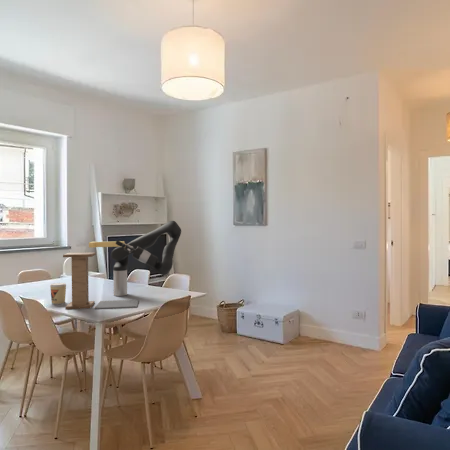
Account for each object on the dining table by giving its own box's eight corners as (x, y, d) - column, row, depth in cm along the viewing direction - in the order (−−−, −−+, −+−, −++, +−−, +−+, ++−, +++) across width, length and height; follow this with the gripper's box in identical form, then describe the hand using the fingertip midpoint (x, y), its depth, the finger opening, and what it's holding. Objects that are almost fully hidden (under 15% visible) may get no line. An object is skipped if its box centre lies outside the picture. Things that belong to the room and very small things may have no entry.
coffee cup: (47, 303, 246) (47, 284, 246) (60, 300, 254) (60, 282, 254) (56, 305, 241) (55, 285, 241) (69, 302, 249) (69, 283, 249)
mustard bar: (91, 246, 243) (91, 241, 243) (125, 245, 246) (125, 241, 246) (88, 247, 233) (88, 242, 233) (123, 246, 236) (123, 241, 236)
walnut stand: (69, 304, 243) (68, 252, 242) (96, 303, 245) (95, 252, 245) (63, 309, 229) (63, 254, 229) (92, 308, 231) (91, 254, 231)
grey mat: (100, 302, 249) (100, 300, 249) (138, 300, 252) (138, 299, 252) (94, 309, 229) (94, 307, 229) (136, 307, 232) (136, 306, 232)
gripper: (145, 248, 250) (121, 235, 247) (144, 250, 236) (118, 236, 233) (139, 259, 249) (115, 246, 247) (137, 261, 235) (112, 247, 233)
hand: (116, 241), depth 240 cm, fingers closed on mustard bar, 4 cm apart
